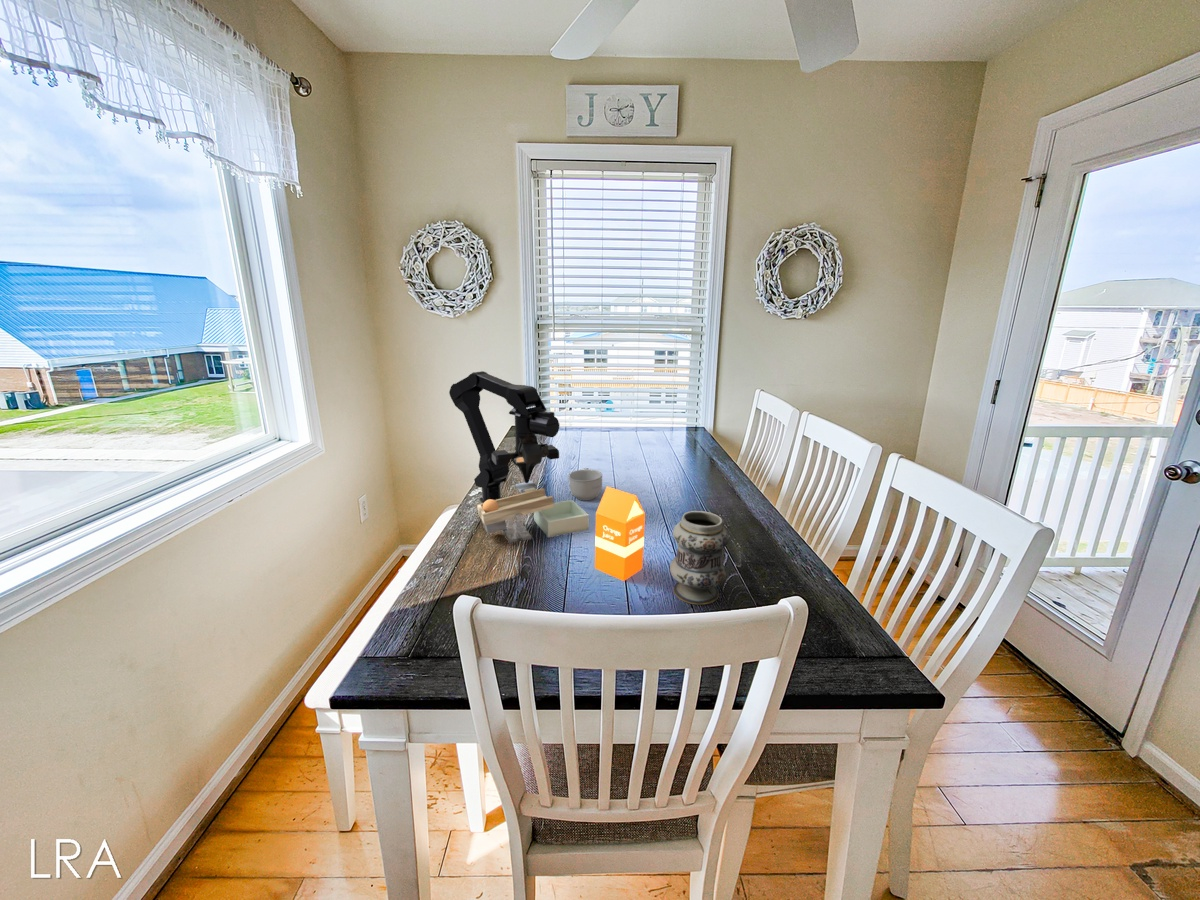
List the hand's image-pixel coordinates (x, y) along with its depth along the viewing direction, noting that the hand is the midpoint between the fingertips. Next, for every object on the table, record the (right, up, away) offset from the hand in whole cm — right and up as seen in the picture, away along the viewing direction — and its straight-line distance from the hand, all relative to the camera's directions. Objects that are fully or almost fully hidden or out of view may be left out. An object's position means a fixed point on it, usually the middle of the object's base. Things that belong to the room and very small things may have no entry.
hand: (526, 482), depth 146 cm
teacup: (+17, -6, +18) cm, 26 cm away
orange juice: (+26, -19, -26) cm, 42 cm away
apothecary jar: (+43, -22, -35) cm, 60 cm away
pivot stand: (-2, -13, -10) cm, 16 cm away
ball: (-7, -5, -15) cm, 17 cm away
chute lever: (-3, -8, -6) cm, 11 cm away
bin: (+10, -12, -4) cm, 16 cm away
